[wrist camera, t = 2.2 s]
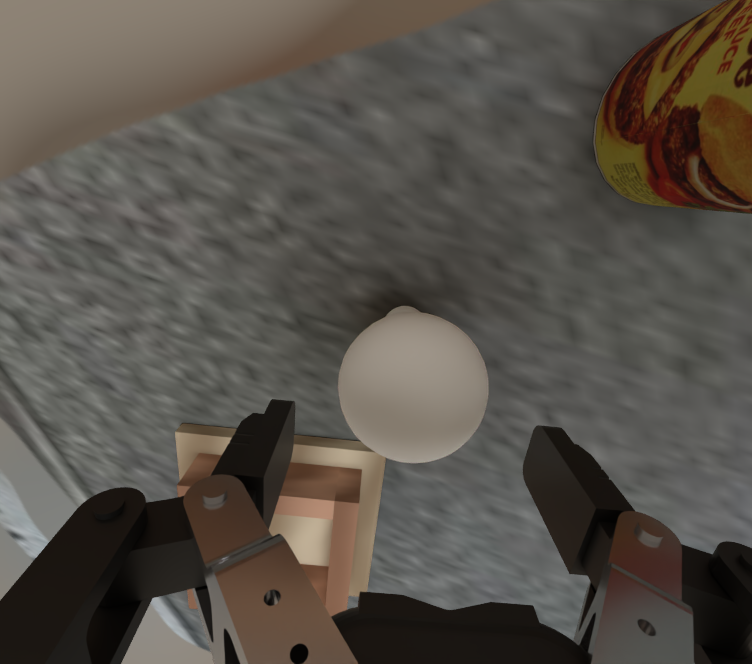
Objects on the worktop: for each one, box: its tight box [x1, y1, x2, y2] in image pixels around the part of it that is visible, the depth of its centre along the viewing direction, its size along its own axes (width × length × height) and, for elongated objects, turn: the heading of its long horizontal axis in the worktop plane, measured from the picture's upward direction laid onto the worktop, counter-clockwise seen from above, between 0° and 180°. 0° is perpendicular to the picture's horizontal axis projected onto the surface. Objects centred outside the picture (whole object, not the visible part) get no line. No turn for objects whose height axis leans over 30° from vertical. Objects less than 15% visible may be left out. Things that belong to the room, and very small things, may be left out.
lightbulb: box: [338, 306, 489, 463], centre depth 18 cm, size 6×6×11 cm
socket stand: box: [175, 423, 386, 616], centre depth 27 cm, size 14×14×4 cm
